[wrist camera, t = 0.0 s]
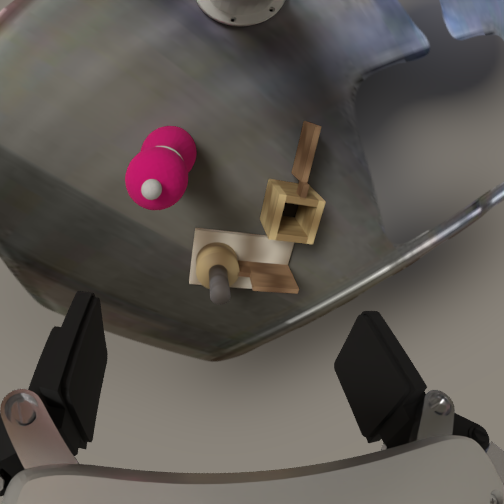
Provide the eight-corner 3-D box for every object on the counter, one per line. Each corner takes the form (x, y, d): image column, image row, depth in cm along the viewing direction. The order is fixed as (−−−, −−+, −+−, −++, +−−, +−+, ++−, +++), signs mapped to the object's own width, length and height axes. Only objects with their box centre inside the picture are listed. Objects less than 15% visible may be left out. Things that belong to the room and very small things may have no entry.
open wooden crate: (282, 115, 42) (296, 120, 36) (324, 125, 43) (344, 133, 37) (259, 218, 49) (268, 239, 43) (299, 224, 51) (312, 244, 45)
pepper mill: (203, 162, 43) (205, 217, 26) (156, 178, 43) (129, 243, 26) (188, 115, 40) (176, 136, 23) (139, 133, 40) (95, 169, 23)
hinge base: (189, 281, 53) (188, 321, 44) (195, 227, 48) (194, 262, 39) (279, 288, 56) (293, 326, 48) (293, 238, 52) (312, 272, 43)
